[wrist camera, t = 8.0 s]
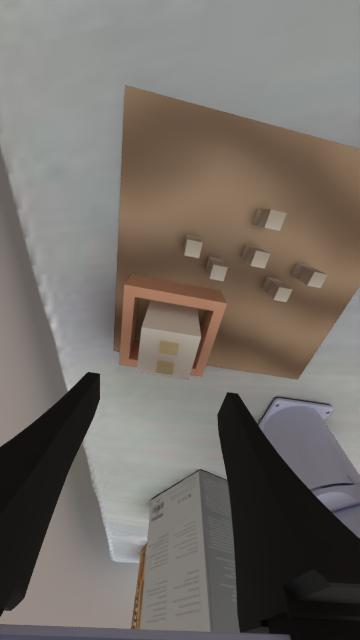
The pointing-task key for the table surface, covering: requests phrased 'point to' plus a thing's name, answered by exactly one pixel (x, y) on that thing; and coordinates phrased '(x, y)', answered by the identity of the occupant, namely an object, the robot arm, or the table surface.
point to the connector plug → (169, 340)
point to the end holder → (175, 295)
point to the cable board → (240, 226)
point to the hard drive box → (191, 559)
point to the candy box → (139, 591)
